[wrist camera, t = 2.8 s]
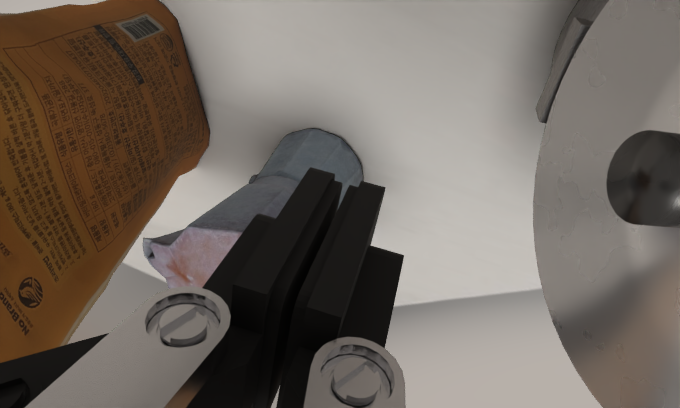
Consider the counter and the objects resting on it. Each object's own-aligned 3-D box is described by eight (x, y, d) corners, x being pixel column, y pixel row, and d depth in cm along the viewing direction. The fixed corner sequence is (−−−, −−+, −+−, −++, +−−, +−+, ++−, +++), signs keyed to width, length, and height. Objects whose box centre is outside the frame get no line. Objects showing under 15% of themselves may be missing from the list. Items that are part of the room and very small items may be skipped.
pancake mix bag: (179, -43, 37) (-308, 37, 14) (240, 176, 47) (6, 442, 23) (107, -30, 39) (-428, 58, 16) (179, 178, 48) (-93, 426, 25)
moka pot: (249, 97, 42) (102, 220, 25) (418, 154, 41) (379, 320, 24) (236, 187, 47) (107, 337, 31) (386, 239, 46) (335, 423, 30)
